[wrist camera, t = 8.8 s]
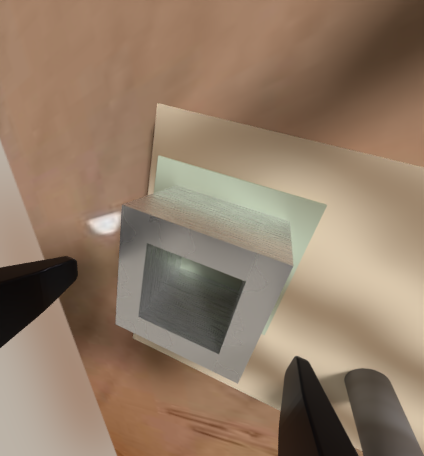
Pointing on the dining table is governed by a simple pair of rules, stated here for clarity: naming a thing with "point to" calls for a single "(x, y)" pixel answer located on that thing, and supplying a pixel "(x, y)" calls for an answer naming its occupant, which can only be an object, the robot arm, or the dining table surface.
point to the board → (320, 267)
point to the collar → (198, 285)
